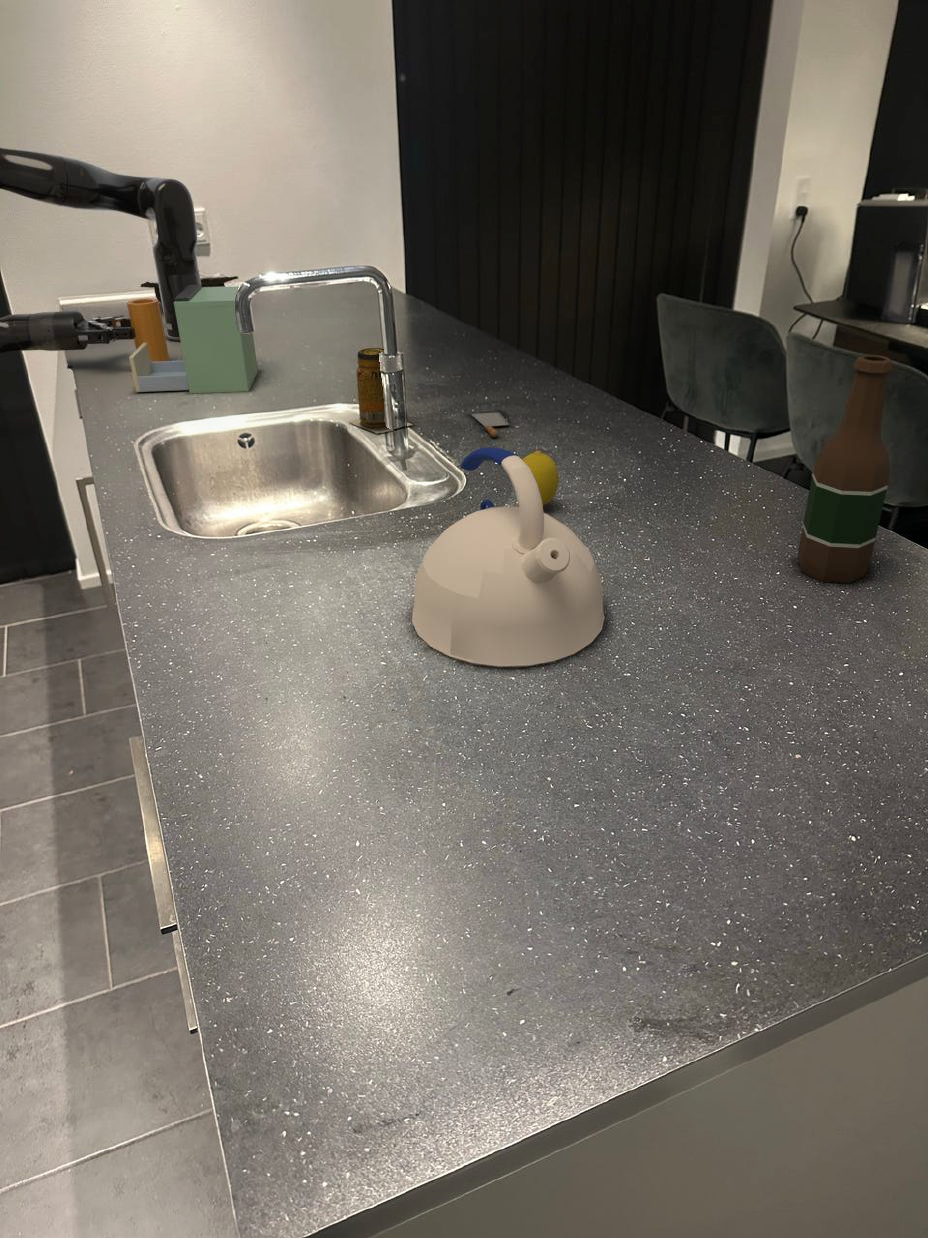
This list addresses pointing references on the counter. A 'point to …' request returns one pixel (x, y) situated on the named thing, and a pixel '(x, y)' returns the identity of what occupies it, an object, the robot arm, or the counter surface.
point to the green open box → (214, 341)
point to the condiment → (370, 392)
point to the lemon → (543, 474)
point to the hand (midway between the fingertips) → (139, 328)
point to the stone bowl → (204, 283)
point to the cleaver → (491, 421)
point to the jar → (148, 327)
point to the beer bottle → (849, 483)
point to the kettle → (508, 581)
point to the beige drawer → (156, 373)
